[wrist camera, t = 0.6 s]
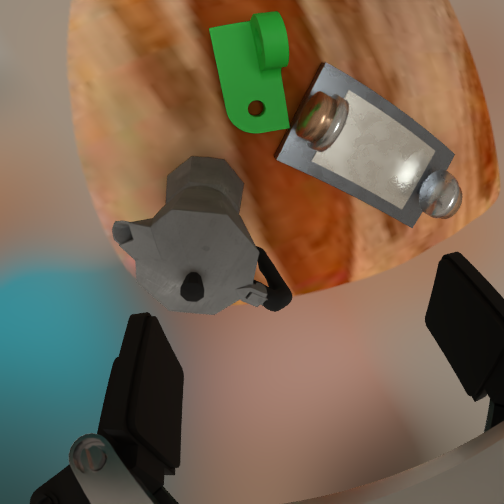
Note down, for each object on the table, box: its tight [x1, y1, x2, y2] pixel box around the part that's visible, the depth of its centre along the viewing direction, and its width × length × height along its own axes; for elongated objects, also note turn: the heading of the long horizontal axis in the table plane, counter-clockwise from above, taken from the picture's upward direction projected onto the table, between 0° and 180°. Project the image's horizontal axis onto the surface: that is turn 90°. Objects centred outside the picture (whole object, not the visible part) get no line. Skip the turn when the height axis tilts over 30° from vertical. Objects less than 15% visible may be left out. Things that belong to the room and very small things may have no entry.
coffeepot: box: [112, 156, 292, 315], centre depth 27 cm, size 15×9×18 cm, turn 58°
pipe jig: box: [274, 62, 462, 228], centre depth 30 cm, size 21×12×8 cm, turn 66°
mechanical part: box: [209, 11, 290, 133], centre depth 25 cm, size 12×6×8 cm, turn 10°
